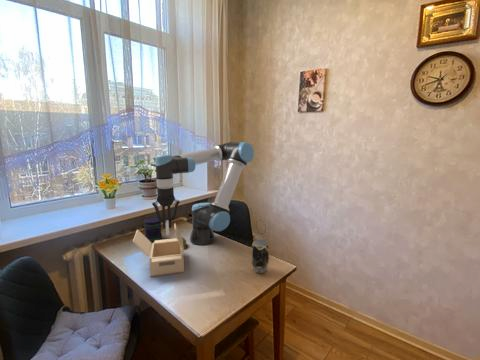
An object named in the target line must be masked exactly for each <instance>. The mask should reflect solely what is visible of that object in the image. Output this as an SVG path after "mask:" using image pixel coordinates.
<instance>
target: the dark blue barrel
mask: <svg viewBox="0 0 480 360" xmlns="http://www.w3.org/2000/svg"><path fill="white" fill-rule="evenodd" d="M143 222H144V223H143V227H144V236H145V237H146V238H147V239H148V240H149V241H150V242H151V245H152V243H154V242H155V240H163V235H162V234H163V233H162V222H161V221H159V219H158V216H152V217H146V218H144V220H143Z"/></svg>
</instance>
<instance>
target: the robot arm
mask: <svg viewBox="0 0 480 360" xmlns="http://www.w3.org/2000/svg"><path fill="white" fill-rule="evenodd" d="M254 157H255V151H254V148H253V145H252V144H250V143H249V142H245V141H239V142H238V141H236V142H235V141H230V142H225V143H221V144H218V145H217V144H216V145H214V146H213V147H211V148H206V149H200V150H196V151H191V152H186V153H182V154H178V155H172V154H156V156H155V164H154V165H155V171H156V172H155V173H156V175H155V176H156V188H157V189H156V191H157V192H156V194H157V197H156V200H155V201H152V202H151V203H152V204H151V205H152V206H153V208H154V210H155V214H156V217H158V219H159V221H161V223H162V227H163V229H165V236H170V229H171V228H172V221H175V219H176V215H177V211H178V210H177V209H178V206H179V204H180V203H181V202H180V199H176V197H175V192H174V190H175V189H174V175H177V174H189V173H193V172H194V171H195V170H196V166H197V165H203V164H206V163H209V162H210V163H211V162H213V161H217V162H220V161H227V162H228V164H227V167H226V170H225V173H224V175H223V178H222V180H221V183H220V185H219V188H218V191H217V193H216V196H215V198H214V201H213V202H199V203H195V204H192V207H191V220H192V221H191V223H192V229H191V232H190V236H189V241H190V243H191V244H193V245H201V246H202V245H207V244H211V243H213V242H214V241H216V240H215V239H216V237H215V232H222V231H224V230H226V229H227V228H228V226H229V225H230V222H231V215H230V208H229V205H230V203H231V201H232V197H233V195H234V192H235V190H236V188H237V184H238V181H239V178H240V176H241V174H242V171H243V169H245V168H247V165H248V163H250V162H252V161H253V160H254ZM172 204H174V207H173V211H172V210H171V206H172ZM158 205H160V207H161V211H162V213H161V212H160V210H159V206H158ZM166 207H167V217H168V218H167V219H168V220H166ZM171 211H172V212H171ZM171 213H172V215H171ZM161 214H162V215H161ZM214 231H215V232H214Z"/></svg>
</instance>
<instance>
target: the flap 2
mask: <svg viewBox="0 0 480 360" xmlns="http://www.w3.org/2000/svg"><path fill="white" fill-rule="evenodd" d="M174 236H175V238H177V240H178V242H179V244H180V247H181V249H182V251H183V253H185V249H184V247H183V239H182V235H181V233H180V231H179V229H178V226H177V224H176V223H174Z"/></svg>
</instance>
